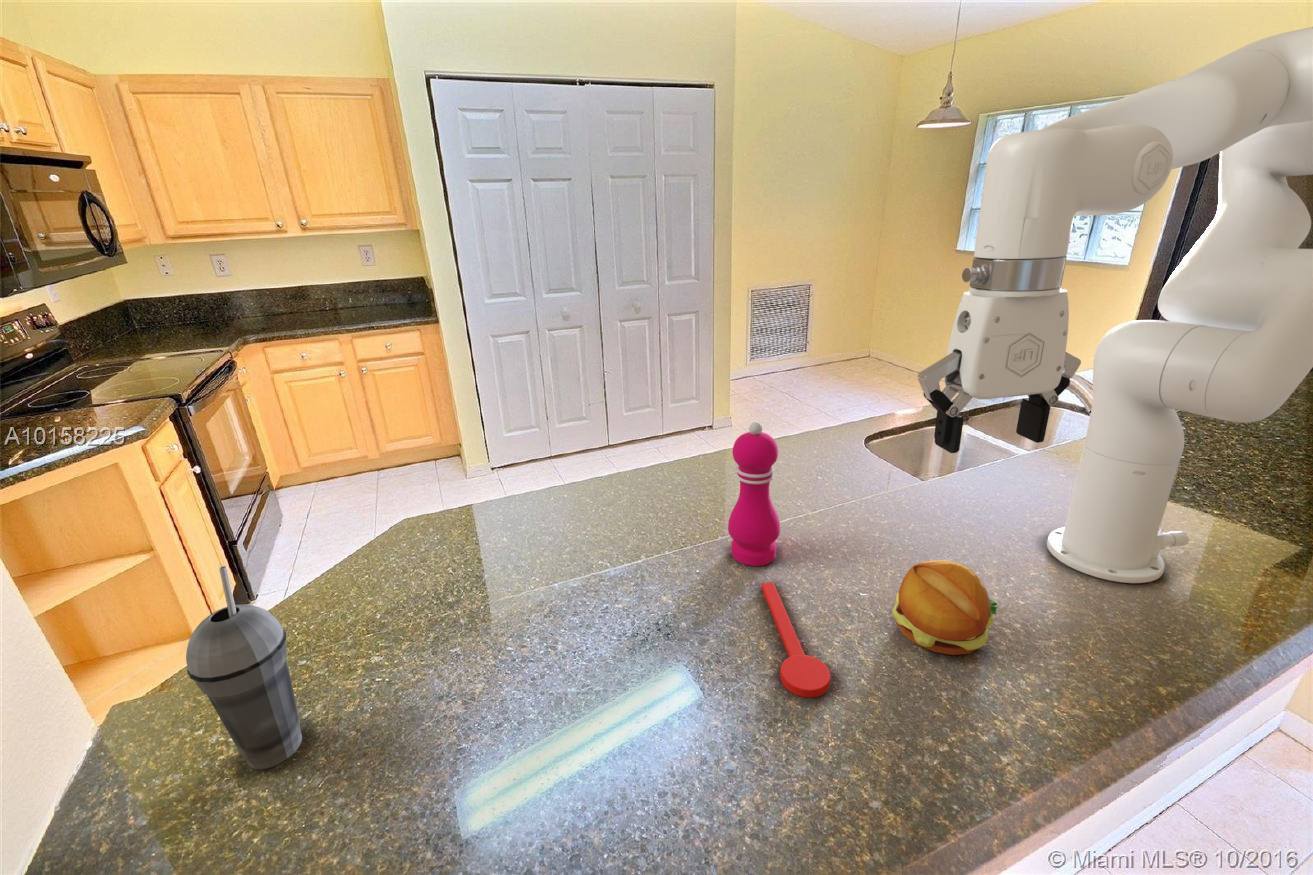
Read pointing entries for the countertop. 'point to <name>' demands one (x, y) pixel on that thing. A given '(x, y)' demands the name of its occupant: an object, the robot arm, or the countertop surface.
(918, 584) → the cheeseburger
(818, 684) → the spoon
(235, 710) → the beverage cup
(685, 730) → the countertop surface
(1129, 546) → the robot arm
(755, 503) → the pepper mill
